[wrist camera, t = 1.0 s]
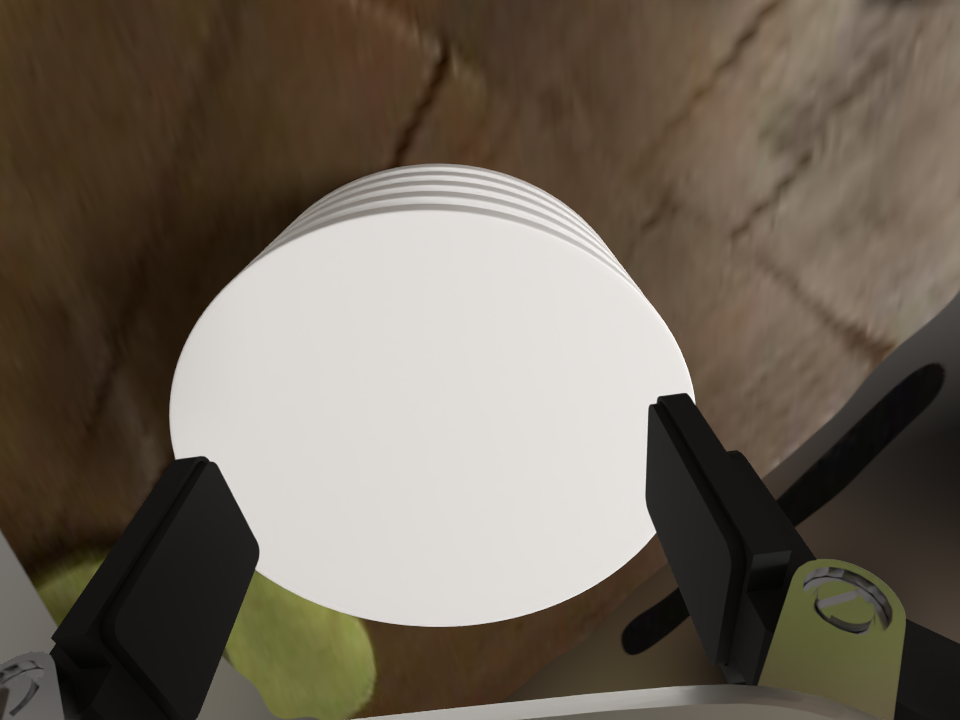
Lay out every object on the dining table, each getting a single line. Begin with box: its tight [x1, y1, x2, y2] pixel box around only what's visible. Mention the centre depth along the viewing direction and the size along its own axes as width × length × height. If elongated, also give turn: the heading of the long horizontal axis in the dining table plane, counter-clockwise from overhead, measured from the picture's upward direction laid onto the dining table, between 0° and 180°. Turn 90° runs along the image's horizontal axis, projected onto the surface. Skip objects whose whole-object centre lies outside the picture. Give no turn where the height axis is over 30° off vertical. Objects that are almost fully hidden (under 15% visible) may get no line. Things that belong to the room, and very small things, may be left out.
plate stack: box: [169, 164, 695, 627], centre depth 34 cm, size 28×28×12 cm
